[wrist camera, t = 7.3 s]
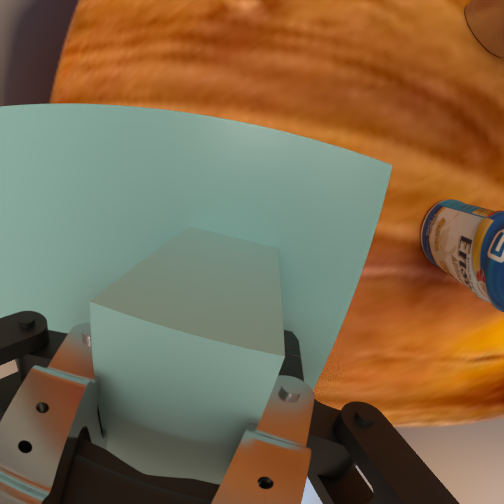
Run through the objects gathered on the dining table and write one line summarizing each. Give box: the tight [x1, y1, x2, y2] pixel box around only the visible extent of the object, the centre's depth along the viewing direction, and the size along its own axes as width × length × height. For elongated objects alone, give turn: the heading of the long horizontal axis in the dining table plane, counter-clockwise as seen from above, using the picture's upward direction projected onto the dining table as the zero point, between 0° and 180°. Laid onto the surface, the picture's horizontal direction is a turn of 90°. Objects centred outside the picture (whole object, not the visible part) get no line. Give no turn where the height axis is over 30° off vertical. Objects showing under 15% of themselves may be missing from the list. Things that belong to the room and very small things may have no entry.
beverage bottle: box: [421, 199, 504, 312], centre depth 20 cm, size 8×8×20 cm
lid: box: [0, 104, 393, 485], centre depth 9 cm, size 21×15×8 cm
